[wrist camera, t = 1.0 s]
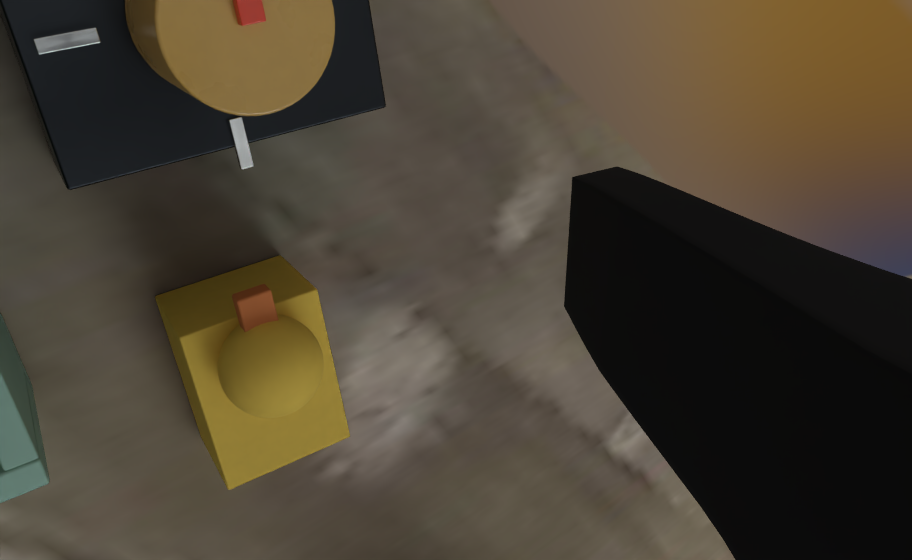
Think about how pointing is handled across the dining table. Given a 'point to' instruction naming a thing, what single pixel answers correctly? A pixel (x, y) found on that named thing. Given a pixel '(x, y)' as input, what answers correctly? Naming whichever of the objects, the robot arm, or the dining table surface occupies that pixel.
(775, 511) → the robot arm
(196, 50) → the tap knob
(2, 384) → the basin
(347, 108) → the black dial box
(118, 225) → the dining table surface
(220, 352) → the toy duck
